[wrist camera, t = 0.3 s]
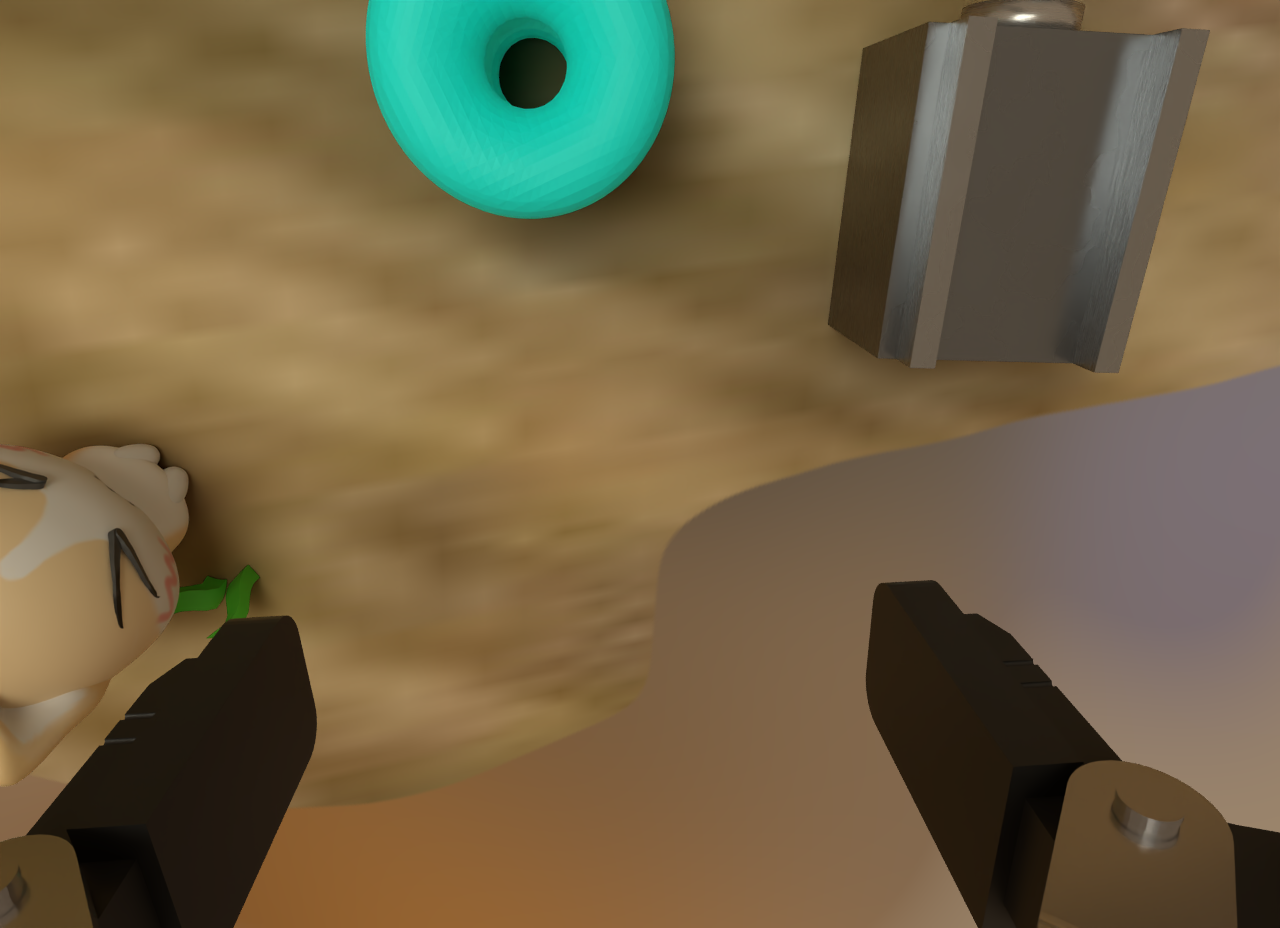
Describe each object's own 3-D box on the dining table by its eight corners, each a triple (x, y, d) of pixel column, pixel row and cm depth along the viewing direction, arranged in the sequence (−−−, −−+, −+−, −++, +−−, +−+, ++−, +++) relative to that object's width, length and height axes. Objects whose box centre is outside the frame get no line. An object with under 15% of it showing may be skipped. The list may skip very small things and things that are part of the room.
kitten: (323, 537, 41) (186, 733, 27) (203, 652, 43) (16, 891, 29) (65, 327, 36) (-265, 433, 22) (-57, 467, 38) (-429, 646, 24)
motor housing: (867, 16, 33) (954, -28, 26) (1090, 30, 34) (1241, -10, 26) (828, 324, 38) (891, 367, 30) (1024, 330, 39) (1136, 373, 31)
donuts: (598, -207, 22) (726, 144, 26) (595, -99, 31) (688, 148, 35) (289, -47, 23) (453, 270, 27) (375, 12, 32) (488, 241, 36)
